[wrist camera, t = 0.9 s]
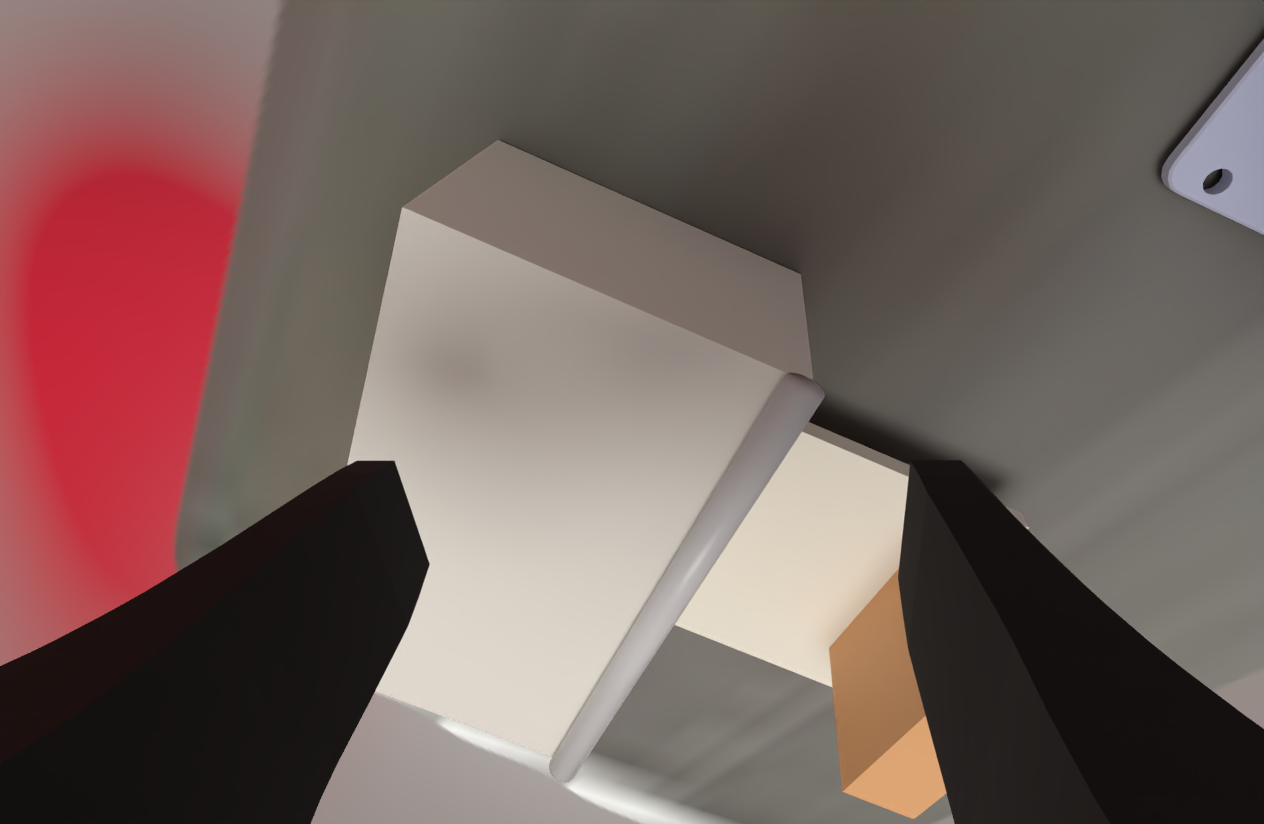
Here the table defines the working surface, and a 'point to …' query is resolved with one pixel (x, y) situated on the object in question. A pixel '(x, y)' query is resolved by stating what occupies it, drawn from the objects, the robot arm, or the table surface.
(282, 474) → the table surface
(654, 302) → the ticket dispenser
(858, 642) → the cream slab with block
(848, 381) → the table surface
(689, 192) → the table surface
